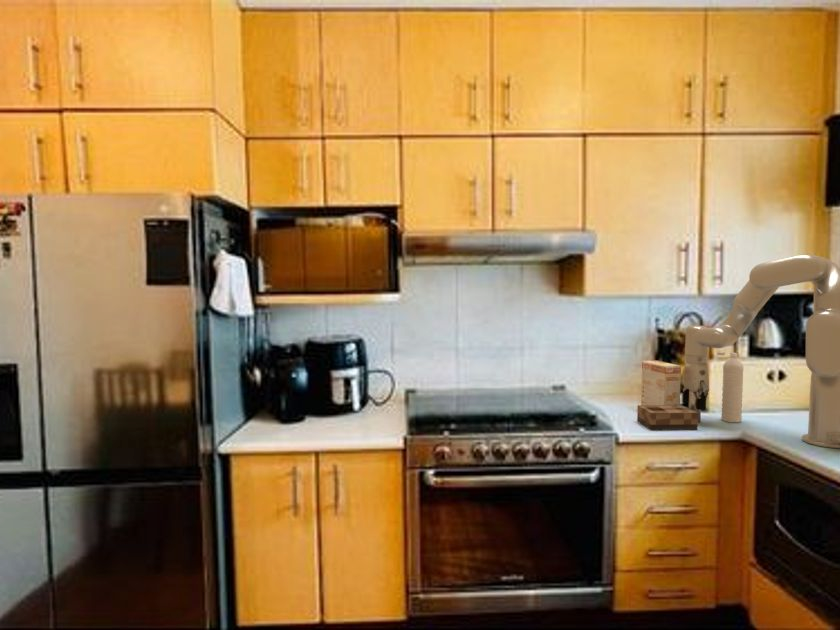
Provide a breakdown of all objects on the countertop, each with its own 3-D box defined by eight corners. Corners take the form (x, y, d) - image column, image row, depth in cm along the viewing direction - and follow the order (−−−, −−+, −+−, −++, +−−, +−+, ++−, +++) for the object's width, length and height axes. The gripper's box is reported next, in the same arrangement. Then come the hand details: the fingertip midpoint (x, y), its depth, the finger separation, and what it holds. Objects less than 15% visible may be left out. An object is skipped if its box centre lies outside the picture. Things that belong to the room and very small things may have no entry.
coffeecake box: (680, 417, 216) (681, 365, 215) (663, 418, 214) (664, 366, 213) (656, 408, 230) (657, 359, 229) (640, 409, 229) (641, 360, 228)
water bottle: (738, 418, 213) (740, 351, 211) (743, 423, 207) (746, 354, 205) (712, 417, 215) (714, 351, 213) (717, 421, 209) (719, 353, 207)
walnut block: (697, 430, 198) (697, 412, 197) (651, 430, 197) (651, 413, 197) (680, 421, 209) (681, 405, 209) (637, 421, 209) (637, 405, 209)
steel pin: (702, 422, 208) (703, 389, 207) (691, 422, 208) (692, 389, 207) (696, 419, 212) (698, 387, 211) (686, 419, 212) (687, 387, 211)
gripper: (719, 363, 200) (717, 412, 201) (694, 356, 217) (692, 400, 218) (697, 363, 199) (695, 412, 201) (674, 356, 217) (672, 400, 218)
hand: (694, 406), depth 209 cm, fingers open, 9 cm apart
